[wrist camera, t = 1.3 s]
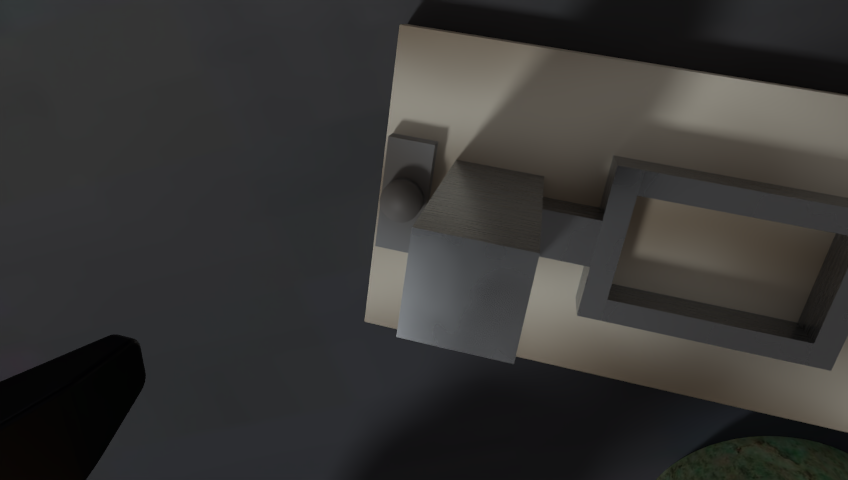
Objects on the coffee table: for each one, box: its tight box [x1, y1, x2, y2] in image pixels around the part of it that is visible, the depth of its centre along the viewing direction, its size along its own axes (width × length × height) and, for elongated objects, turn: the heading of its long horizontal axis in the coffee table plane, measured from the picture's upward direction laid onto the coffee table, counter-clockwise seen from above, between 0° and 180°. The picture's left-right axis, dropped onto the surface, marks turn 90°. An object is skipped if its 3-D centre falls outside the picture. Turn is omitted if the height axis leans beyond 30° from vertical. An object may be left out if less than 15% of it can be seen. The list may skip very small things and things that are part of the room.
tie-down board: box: [365, 24, 848, 432], centre depth 20 cm, size 11×27×2 cm, turn 82°
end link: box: [396, 155, 848, 371], centre depth 17 cm, size 5×13×7 cm, turn 82°
